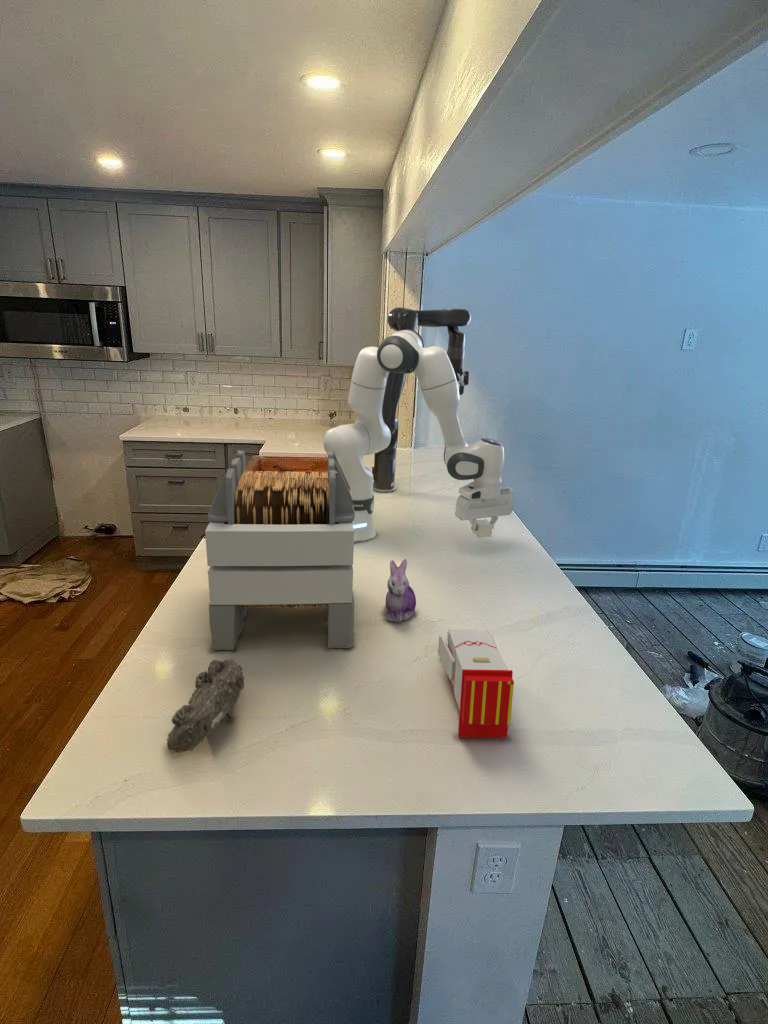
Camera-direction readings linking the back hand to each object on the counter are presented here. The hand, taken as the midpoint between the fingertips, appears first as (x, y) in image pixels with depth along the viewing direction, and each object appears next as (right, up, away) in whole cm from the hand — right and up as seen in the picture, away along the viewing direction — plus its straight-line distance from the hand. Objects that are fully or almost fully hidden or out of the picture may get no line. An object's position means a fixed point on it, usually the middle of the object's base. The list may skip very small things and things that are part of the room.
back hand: (452, 394), depth 252 cm
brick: (+2, -60, -65) cm, 88 cm away
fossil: (-63, -91, -144) cm, 182 cm away
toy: (-12, -90, -134) cm, 162 cm away
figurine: (-26, -79, -105) cm, 134 cm away
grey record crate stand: (-55, -78, -107) cm, 144 cm away
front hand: (+2, -58, -66) cm, 88 cm away
